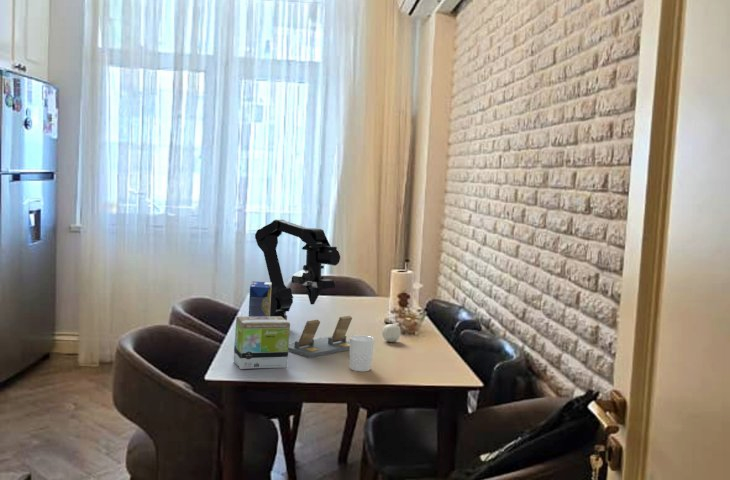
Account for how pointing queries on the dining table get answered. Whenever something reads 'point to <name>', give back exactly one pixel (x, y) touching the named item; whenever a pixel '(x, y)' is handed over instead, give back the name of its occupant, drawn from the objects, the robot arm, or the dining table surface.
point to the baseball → (391, 333)
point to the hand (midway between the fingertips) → (312, 304)
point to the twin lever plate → (319, 347)
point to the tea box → (261, 342)
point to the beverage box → (260, 299)
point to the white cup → (361, 352)
